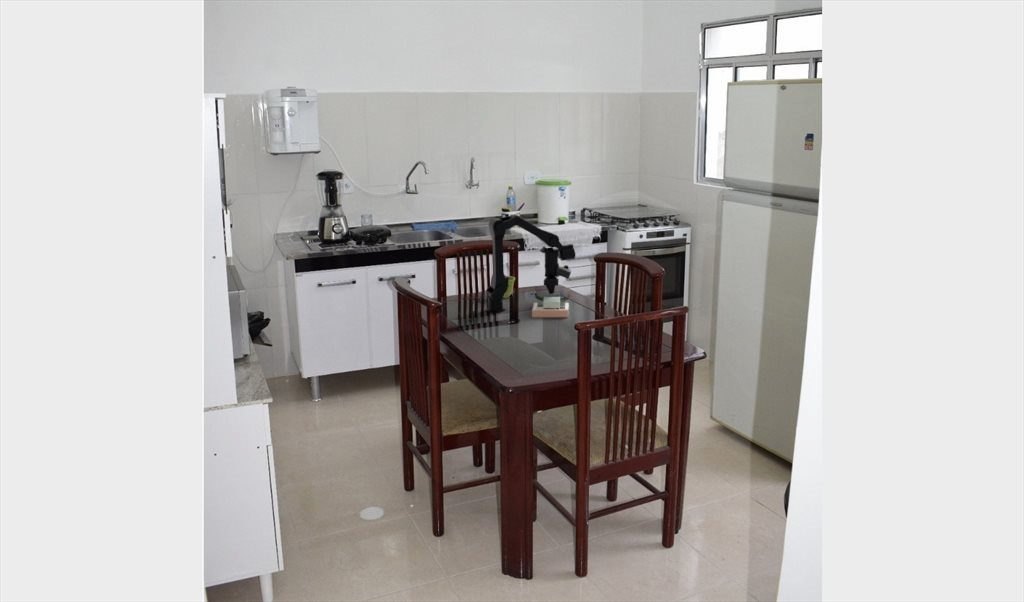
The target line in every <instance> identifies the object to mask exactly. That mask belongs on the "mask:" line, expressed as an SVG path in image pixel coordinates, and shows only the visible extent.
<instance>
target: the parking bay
mask: <svg viewBox="0 0 1024 602" xmlns="http://www.w3.org/2000/svg"><path fill="white" fill-rule="evenodd" d="M538 303H539V302H534V303H533V306H532V309H531V317H532V318H569V311H568V310H569V309H570V305H569V304H570V303H569V302H565V303H564V307H565V309H556V308H547V309H544V308H543V306H538V305H539V304H538Z"/></svg>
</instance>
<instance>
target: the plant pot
mask: <svg viewBox="0 0 1024 602" xmlns="http://www.w3.org/2000/svg"><path fill="white" fill-rule="evenodd" d="M506 276H507V277H508V285H509V287H508V288H507V291H506V292H505V293H504V296H503V299H508V298H507V297H509V296H510V295H511V294H512V295H513V293H514V292H513V289H514V283H515V280H516V277H514V276H510V275H506ZM509 298H510V297H509Z"/></svg>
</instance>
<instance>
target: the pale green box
mask: <svg viewBox="0 0 1024 602" xmlns="http://www.w3.org/2000/svg"><path fill="white" fill-rule="evenodd" d="M542 304H543V305H542V307H543V308H544V309H547V308H556V309H560V307H561V293H555V292H554V293H553V294H549V293H543V301H542Z"/></svg>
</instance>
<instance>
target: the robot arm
mask: <svg viewBox="0 0 1024 602" xmlns="http://www.w3.org/2000/svg"><path fill="white" fill-rule="evenodd" d="M516 226H518V227H519V228H521V229H523V230H525V231H526V232H527V233H529V234H532V236H535V237H536V238H537V239H538V240H540V242H542V244H545V245H546V246H548V247H546V246H543V247H542V248H540V250H539V252H541V253H543V254H544V277H545V278H544V279H543V286H545V287H546V289H547V291H548V294H553V293H555V290H556V289H555V288H556V286H559V279H560V278H559V277H562V278H565V279H567V280H569V279H570V277H571V273H572V270H571V268H569V265H566V264H564V265H563V266H560V265H559V264H560V263H559V259H560V261H561V262H563V261H572V260H573V261H574V260H575V259H576V252H575V248H574V244H572V243H569V244H562V243H561V242H560V238H559V236H558V235H557V234H555V233H553V232H550V231H547V230H545V229H541V228H539V227H538V226H536V225H534V224H532V223H531V222H529V221H528V220H526V219H524V218H522V217H521V216H519V215H518V214H512V215H509V216H504V217H503V216H502V217H500V218H499V217H494V218H492V219H490V220H489V222H488V229H489V234H490V237H491V240H492V264H493V265H492V266H493V268H492V271H493V272H492V275H491V278H490V285H489V286H488V288H486V290H485V294H486V295H487V308H485V309H484V310H485V311H486V312H489V313H491V314H496V313H500V312H501V313H502V312H504V311H506V309H505V308H504V306H503V305H504V304H503V299H504V298H503V296H504V293H505V292H506V291H507V288H508V287H509V285H508V277H507V276H508V275H506V274H505V272H504V269H505V268H504V266H505V265H504V238H505V235H506V230H510V229H511V228H514V227H516Z"/></svg>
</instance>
